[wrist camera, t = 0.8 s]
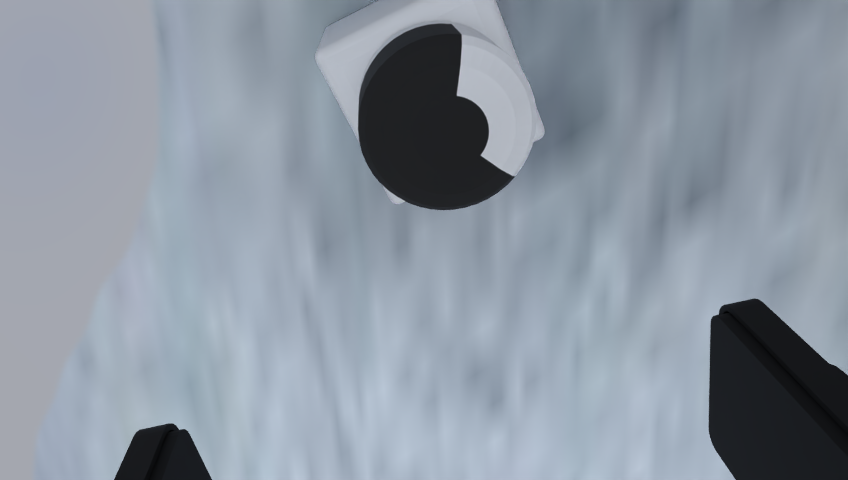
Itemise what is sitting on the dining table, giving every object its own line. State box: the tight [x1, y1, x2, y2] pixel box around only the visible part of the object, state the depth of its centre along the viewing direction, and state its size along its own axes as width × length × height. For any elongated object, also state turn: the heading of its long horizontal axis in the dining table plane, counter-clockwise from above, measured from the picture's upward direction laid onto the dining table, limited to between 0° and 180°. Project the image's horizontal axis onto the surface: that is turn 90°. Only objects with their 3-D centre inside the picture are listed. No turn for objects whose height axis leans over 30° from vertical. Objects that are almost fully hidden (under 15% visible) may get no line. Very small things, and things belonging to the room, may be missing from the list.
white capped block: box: [315, 0, 545, 210], centre depth 26 cm, size 7×7×12 cm
